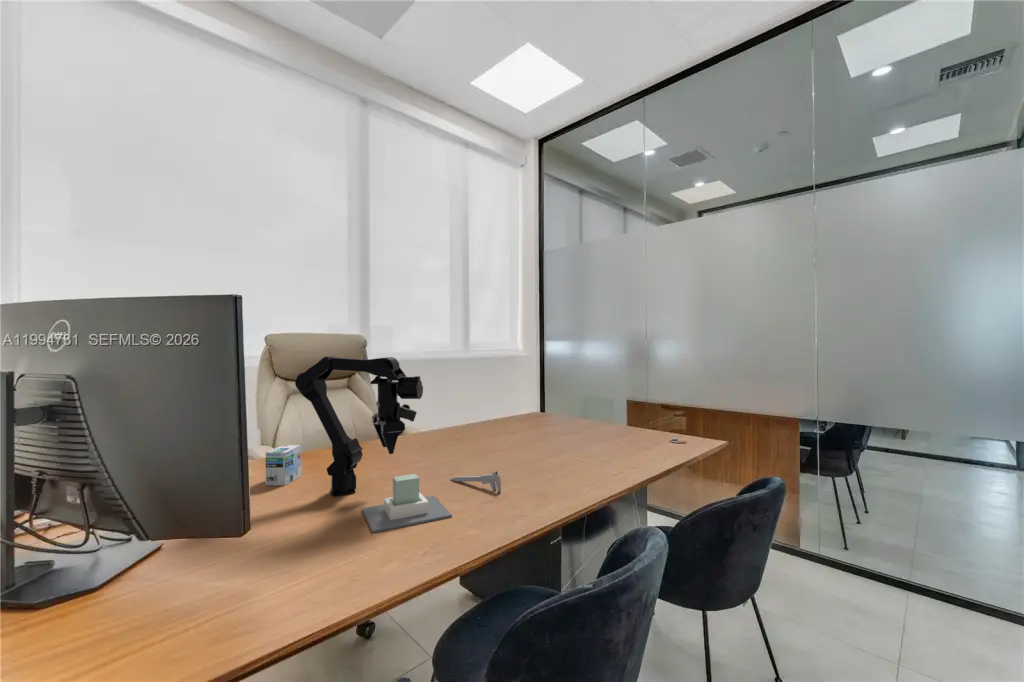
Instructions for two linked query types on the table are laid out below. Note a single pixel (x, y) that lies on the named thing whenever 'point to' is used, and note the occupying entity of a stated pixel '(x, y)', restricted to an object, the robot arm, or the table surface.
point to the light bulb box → (283, 465)
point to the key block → (405, 489)
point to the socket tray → (404, 513)
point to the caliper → (482, 480)
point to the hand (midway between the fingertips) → (388, 450)
